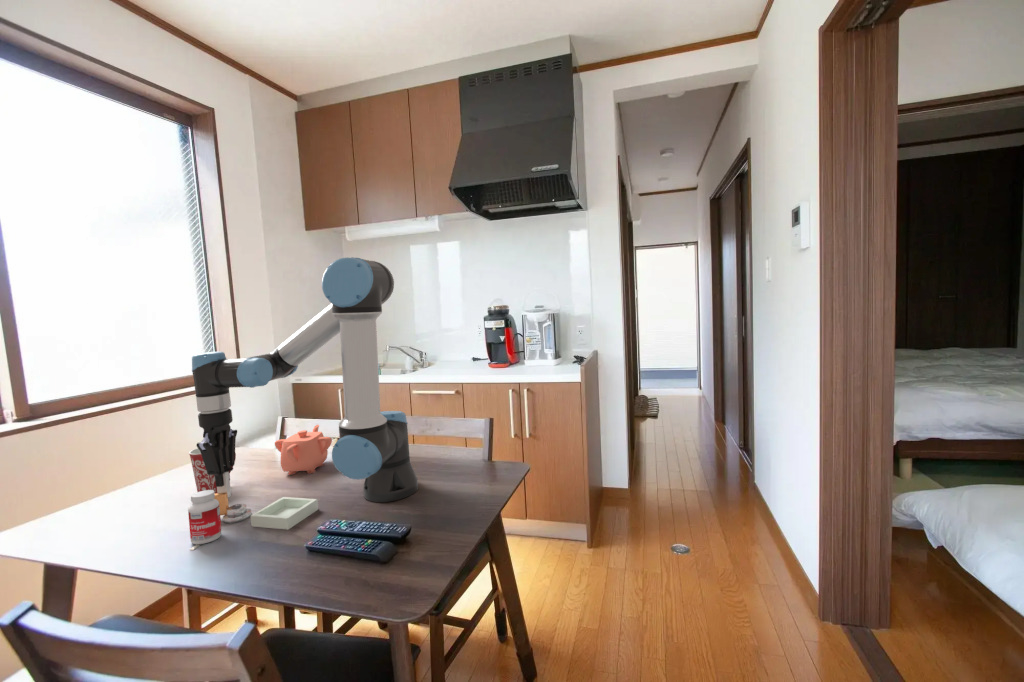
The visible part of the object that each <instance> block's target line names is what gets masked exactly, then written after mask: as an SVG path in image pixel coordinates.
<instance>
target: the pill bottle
mask: <svg viewBox="0 0 1024 682" xmlns="http://www.w3.org/2000/svg"><path fill="white" fill-rule="evenodd" d="M214 497H215V493H214V490H204V491H200V492H195V493H194V492H193V493H192V494H191V495H190V501H191V503H192V504H190V505H189V507H188V510H187V511H188V513H187V515H188V524H189V536H190V542H191V544H192V545H197V544H201V545H204V544H207V543H212V542H214V541H216V540H218V539H219V538H220V537H221V536H222V522H221V521H222V520H221V515H220V507H219V501H218V500H216V499H214Z"/></svg>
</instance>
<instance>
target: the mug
mask: <svg viewBox="0 0 1024 682" xmlns="http://www.w3.org/2000/svg"><path fill="white" fill-rule="evenodd" d="M188 455H189V458H190V463H191V467H192V471H193V477H194V481H195V487H196V491H197V492H200V491H204V490H214V493H217V487H216V482H215V476H214V475H208V473H207V470H206V467H205V464H204V461H203V458H202V455H201V452H200V450H199V449H198V448H194V449H192V450H190V451H189V452H188ZM236 456H237V454H236V452H235V460H236ZM231 468H233V469H234V466H231ZM231 472H232V471H229V474H230V475H231ZM197 492H196V493H197Z"/></svg>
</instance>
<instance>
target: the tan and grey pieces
mask: <svg viewBox="0 0 1024 682" xmlns="http://www.w3.org/2000/svg"><path fill="white" fill-rule="evenodd" d="M214 499H216V500H218V501H219V507H220V516H224V515H227V517H228V518H235V517H239V516H242V515H244V514H246V513H247V509H248V508H247V504H246V503H237V504H234V505H230V504H229V497H228V495H227V492H226V493H215V497H214ZM229 505H230V506H229Z"/></svg>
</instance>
